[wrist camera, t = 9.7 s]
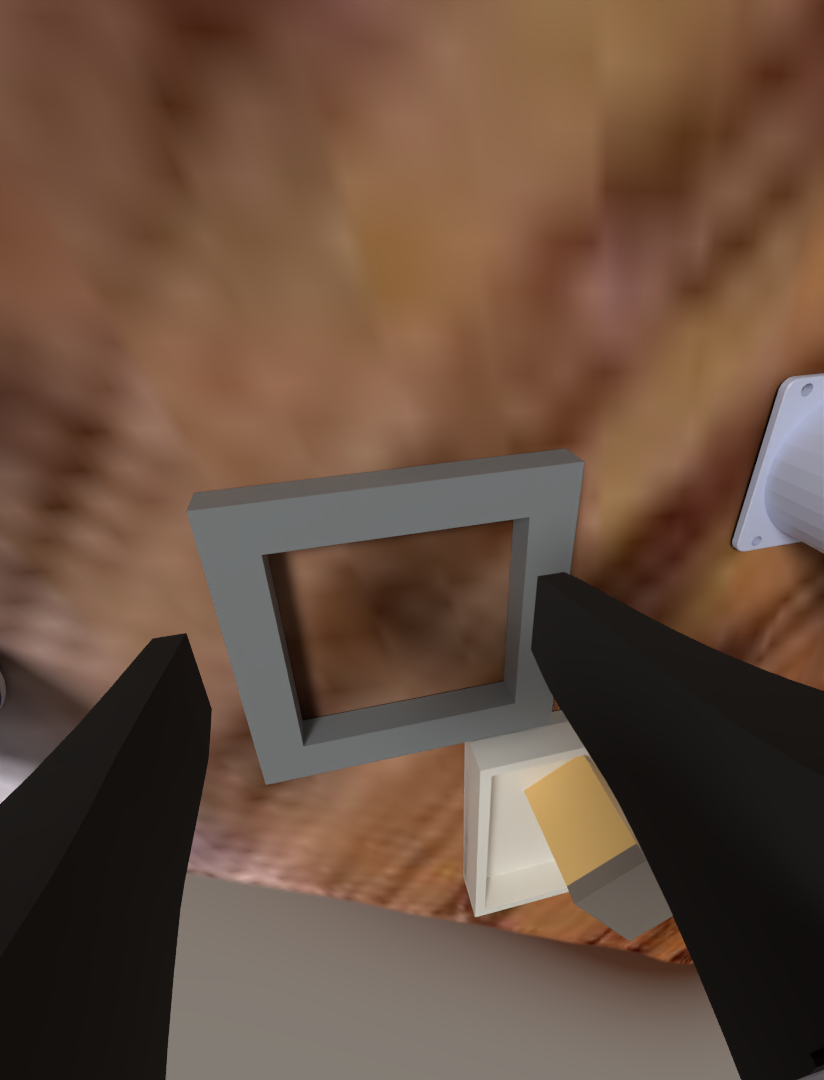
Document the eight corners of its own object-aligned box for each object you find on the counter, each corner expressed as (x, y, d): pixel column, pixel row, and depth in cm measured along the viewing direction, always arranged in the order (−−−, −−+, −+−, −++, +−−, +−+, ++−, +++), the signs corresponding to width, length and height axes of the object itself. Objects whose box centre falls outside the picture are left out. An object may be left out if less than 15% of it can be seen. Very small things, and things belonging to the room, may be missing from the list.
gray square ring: (565, 448, 20) (584, 461, 19) (537, 701, 27) (550, 724, 26) (193, 493, 18) (186, 511, 17) (267, 757, 25) (266, 784, 23)
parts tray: (700, 680, 29) (732, 714, 27) (653, 826, 36) (676, 862, 34) (464, 730, 27) (480, 771, 25) (463, 875, 34) (475, 917, 32)
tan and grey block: (582, 752, 29) (646, 860, 24) (628, 800, 32) (693, 903, 27) (524, 790, 29) (574, 904, 24) (575, 833, 33) (629, 941, 28)
